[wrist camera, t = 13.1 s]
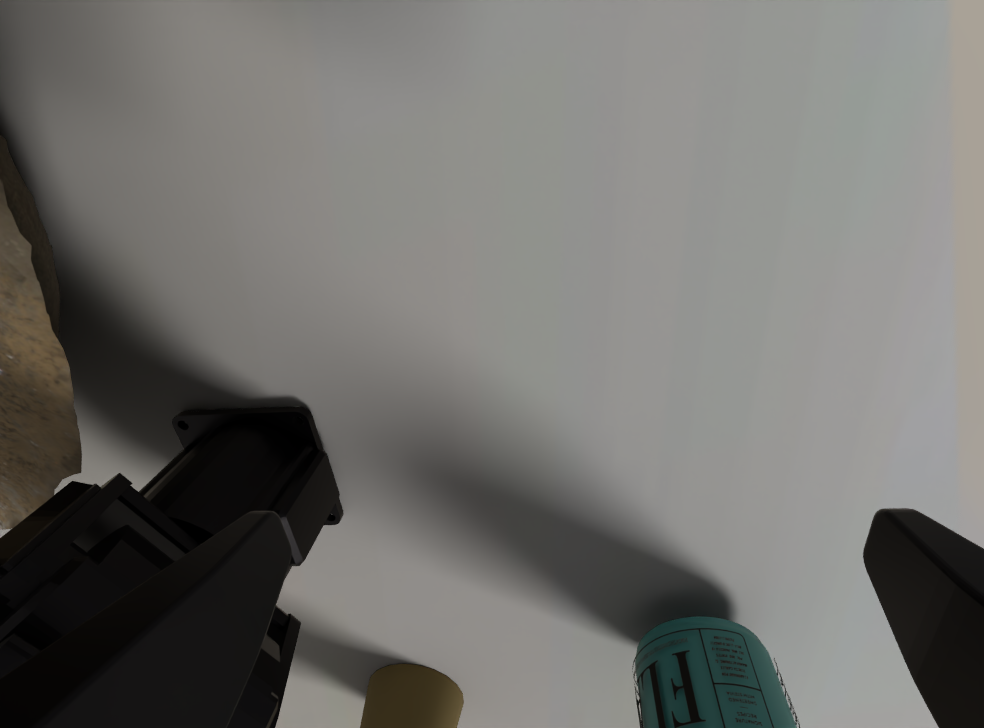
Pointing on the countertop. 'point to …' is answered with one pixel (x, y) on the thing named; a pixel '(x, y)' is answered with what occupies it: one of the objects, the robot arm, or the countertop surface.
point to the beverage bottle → (708, 678)
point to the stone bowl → (30, 360)
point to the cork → (411, 699)
